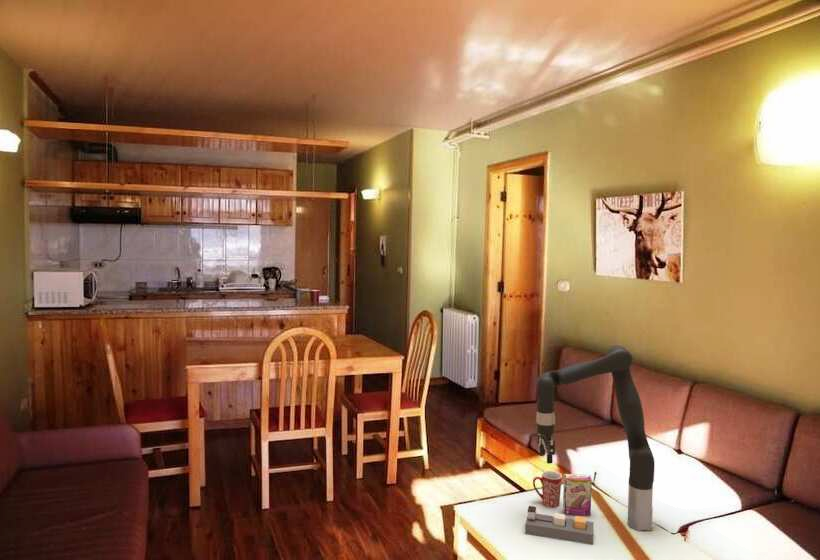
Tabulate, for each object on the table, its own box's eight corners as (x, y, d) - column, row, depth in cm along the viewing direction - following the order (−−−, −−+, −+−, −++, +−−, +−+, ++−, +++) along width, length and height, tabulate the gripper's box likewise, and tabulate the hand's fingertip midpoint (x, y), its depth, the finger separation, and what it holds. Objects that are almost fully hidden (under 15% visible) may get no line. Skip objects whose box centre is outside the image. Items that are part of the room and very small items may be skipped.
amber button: (585, 524, 230) (585, 517, 230) (585, 529, 226) (585, 522, 226) (574, 523, 231) (575, 515, 231) (574, 528, 228) (574, 521, 227)
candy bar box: (564, 515, 246) (565, 478, 244) (562, 509, 251) (563, 473, 249) (591, 516, 245) (592, 479, 243) (588, 510, 250) (589, 474, 248)
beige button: (565, 521, 233) (565, 514, 232) (564, 526, 229) (564, 519, 228) (554, 520, 234) (554, 512, 234) (553, 525, 230) (553, 517, 230)
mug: (561, 500, 260) (561, 471, 258) (562, 509, 251) (562, 479, 250) (532, 497, 262) (533, 468, 261) (532, 506, 254) (532, 477, 252)
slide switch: (536, 520, 236) (536, 506, 236) (534, 525, 233) (535, 511, 232) (528, 519, 237) (528, 505, 237) (527, 524, 234) (527, 510, 233)
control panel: (593, 531, 232) (593, 522, 232) (592, 544, 223) (593, 534, 222) (528, 521, 241) (528, 512, 240) (525, 533, 231) (525, 524, 231)
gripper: (560, 426, 234) (561, 465, 235) (548, 415, 248) (548, 452, 249) (543, 428, 233) (543, 466, 234) (531, 417, 247) (531, 453, 248)
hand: (545, 459), depth 242 cm, fingers open, 8 cm apart
